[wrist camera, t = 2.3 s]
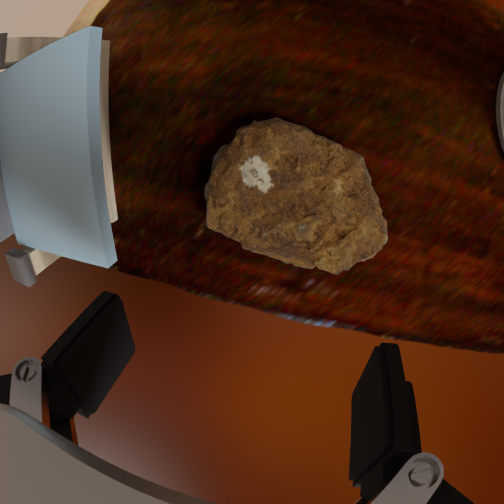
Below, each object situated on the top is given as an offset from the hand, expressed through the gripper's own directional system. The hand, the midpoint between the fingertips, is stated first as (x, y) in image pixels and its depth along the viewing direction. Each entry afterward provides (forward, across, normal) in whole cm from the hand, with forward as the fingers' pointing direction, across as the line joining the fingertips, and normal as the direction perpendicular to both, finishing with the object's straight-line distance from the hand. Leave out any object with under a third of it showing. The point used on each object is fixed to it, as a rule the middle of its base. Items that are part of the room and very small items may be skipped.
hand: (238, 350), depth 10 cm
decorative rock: (+16, -1, -1) cm, 17 cm away
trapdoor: (+8, +17, -6) cm, 19 cm away
